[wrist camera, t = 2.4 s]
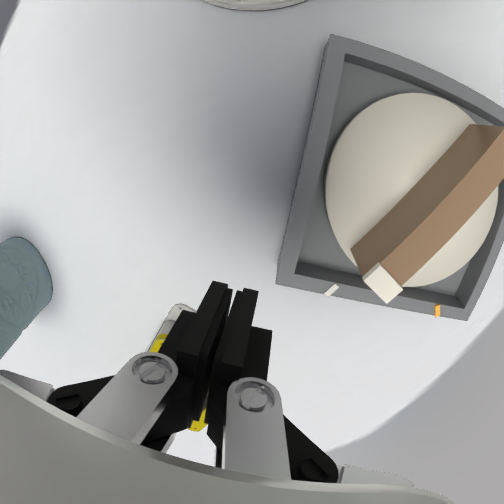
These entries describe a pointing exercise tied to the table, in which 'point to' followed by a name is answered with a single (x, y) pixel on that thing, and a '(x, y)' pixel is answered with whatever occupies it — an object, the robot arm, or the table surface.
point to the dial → (412, 190)
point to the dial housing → (313, 171)
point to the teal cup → (20, 288)
